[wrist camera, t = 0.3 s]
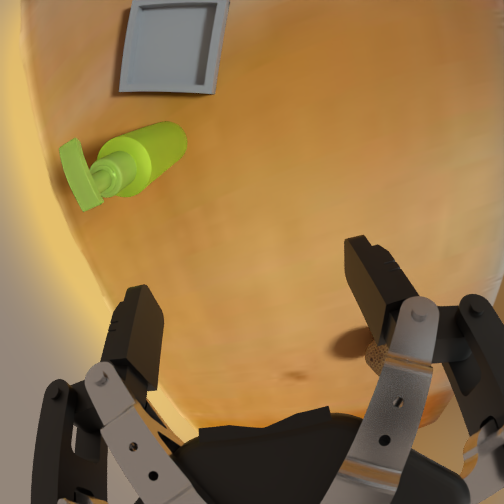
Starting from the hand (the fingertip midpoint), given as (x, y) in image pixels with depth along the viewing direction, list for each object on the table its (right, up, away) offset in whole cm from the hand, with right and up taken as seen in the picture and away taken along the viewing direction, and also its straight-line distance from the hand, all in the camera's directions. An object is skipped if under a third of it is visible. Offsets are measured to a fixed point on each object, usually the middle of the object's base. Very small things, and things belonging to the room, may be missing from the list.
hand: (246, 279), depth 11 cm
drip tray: (-9, +27, +17) cm, 33 cm away
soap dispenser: (-11, +16, +24) cm, 31 cm away
